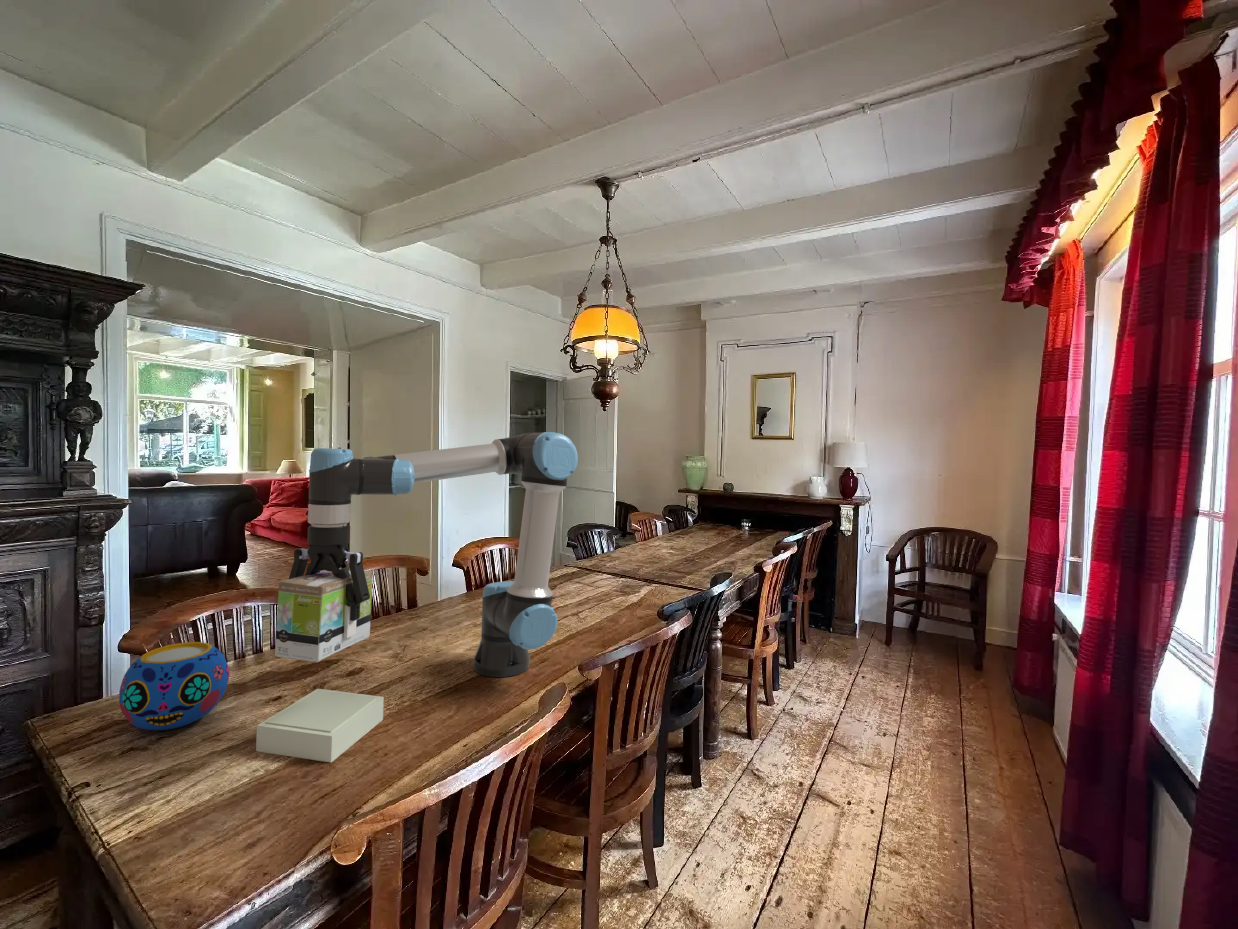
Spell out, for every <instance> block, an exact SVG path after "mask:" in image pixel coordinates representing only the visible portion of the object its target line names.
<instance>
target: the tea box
mask: <svg viewBox="0 0 1238 929" xmlns="http://www.w3.org/2000/svg"><path fill="white" fill-rule="evenodd" d="M340 569H342V568H340ZM349 573H350V568H349ZM364 573H365V577H366V581H367V586H368V590H369V594H370V599H369V600H366V601H364V602H362V603H361V604H360V617H359V619H357V620H356V634H354V635H353V636H351V637H349V638H344V615H345V605H347V604H349V603H348V601H347V599H346V584H349V583H353V581H352V577H348V578H345V579H341V578H336V576H334V575H333V573H332V572H331V571H326V570H322V571H320V573H317V574H313V575H305V574H304V575H303V576H299V577H296V578H292V579H289V578H288V579H285V580H281V581H279V583H278V593H277V594H278V595H277V611H276V612H277V614H276V631H275V645H274V646H275V650H274V656H275V657H278V658H283V659H290V660H296V661H302V662H311V663H319V662H320V661H322V660H324V659H326V658H328V657H330V656H332V655H334V654H336V653H338V652H340V651H342V650H345V649H347V648H348V647H350V646H353V645H355V644H357V643H359V642H362V641H363V640H366V639H368V638H369V637H370V634H371V617H372V598H373V596H372V595H373V592H372V590H373V581H374V579H373V576H374V575H373V574H374V572H373V570H367V569H366V570H365V569H364ZM350 575H351V573H350Z"/></svg>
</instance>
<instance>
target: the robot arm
mask: <svg viewBox="0 0 1238 929" xmlns="http://www.w3.org/2000/svg"><path fill="white" fill-rule="evenodd" d="M353 454H354V452H353V451H352V449H350V448H331V447H330V448H327V447H323V448H321V447H318V448H315V449H313V450H312V451H311V453H310V461H309V463H310V464H309V469H308V473H309V474H308V482H309V483H308V511H307V512H308V513H307V523H308V524H310V525H309V526H308V527H307V540H306V541H307V544H308V545H309V547H308V548H307V547H305V546H304V547H301V548H298V549H294V551H293V562H292V566H291V570H290V572H289V577H288V579H292V578H296V577H299V576H303V575H313V574H317V573H320V571H322V570H326V571H331V572H332V573H333V575H334V576H336V578H341V579H345V578H348V577H352V581H353V583H349V584H346V599H347V601H348V603H349V604H347V605H345V615H344V638H349V637H351V636H353V635H354V634H356V620H357V619H359V617H360V604H361V603H362V602H364V601H366V600H369V599H370V594H369V590H368V586H367V581H366V577H365V573H364V570H365V569H364V565H363V560H364V553H363V552H362V551H358V552H352V551H350V548H349V546H348V545H349V544H350V540H351V526H350V524H349V523H350V522H351V509H352V508H351V507H352V506H351V505H352V504H351V503H352V496H353V495H355V496H359V495H367V496H368V495H373V496H375V495H378V496H379V495H380V496H381V495H386V496H387V495H392V496H397V495H408V494H411V492H412V490H413V488H414V484H419V483H420V484H421V483H425V482H426V483H427V482H433V481H440V480H446V479H447V480H448V479H453V478H463V477H470V476H474V475H481V474H482V475H483V474H489V473H496V474H497V475H499V476H502V475H510V474H513V475H514V474H515V475H521V479H520V483H521V484H522V486H523V487H524V489H525V494H524V502H523V508H522V518H521V525H520V534H519V540H518V541H519V542H518V551H517V558H516V566H515V572H514V573H515V574H514V580H509V581H508V580H506V581H496V582H490V583H488V584H485V586H484V587H483V591H482V596H481V599H482V602H481V603H482V604H481V605H482V606H481V635H480V636H481V637H480V641H479V644H478V645H477V646H478V647H477V650H476V652H475V655H474V658H473V670H474V671H475V672H476V673H477V674H479V675H481V676H484V677H491V678H506V677H513V676H516V675H519V674H522V673H524V672H526V671H527V670H528V669H529V668H530V666H531V664H530V663H531V656H530V652H529V650H531V651H532V650H537V649H540V648H541V647H543V646H545V645H546V644H547V643H548V641H550V640H552V638H553V636H554V635H555V633H556V631H557V626H558V615H557V613H556V612H555V610H554V608H553V607H552V603H553V596H554V593H553V591H552V590H551V589H550V587H549V581H550V571H551V564H552V558H553V548H554V541H555V540H554V539H555V533H556V532H555V531H556V525H557V524H556V522H557V516H558V508H559V500H560V494H561V492H563V491H564V490H565V489H566V488H567V485H568V478H570V477H571V475H572V474H573V473H574V472H575V470H576V469H577V466H578V462H579V461H578V460H579V459H578V458H579V456H578V455H579V454H578V451H577V448H576V446H575V444H574V442H572V440H571V438H569V437H568V436H566V435H564V434H562V433H559V432H553V431H552V432H551V431H545V432H543V431H542V432H526V433H522V434H518V435H514V436H509V437H505V438H497V439H494V440H492V442H491V443H485V444H476V445H469V446H460V447H459V446H458V447H451V448H442V449H441V448H440V449H434V450H424V451H416V452H414V451H413V452H407V453H398V454H391V455H383V456H382V455H381V456H365V457H362V458H354V455H353ZM309 559H310V562H309ZM308 562H309V564H308ZM307 565H308V566H307ZM340 568H342V569H340ZM349 569H350V573H351V575H350V573H349Z"/></svg>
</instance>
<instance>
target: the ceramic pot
mask: <svg viewBox="0 0 1238 929" xmlns="http://www.w3.org/2000/svg"><path fill="white" fill-rule="evenodd" d="M229 678H230V670H229V666H228V661H227V660H226V658H225V656H224V654H223V653H222V651H221V650H220V649H218V647H216V646H214V645H213V644H210V643H208V642H202V641H189V642H188V641H187V642H179V643H173V644H168V645H165V646H164V645H163V646H161V647H157V648H154V649H151V650H149V651H147V652H146V653H144V654H142V655H140V656H139V657H138V658H137V659H136V660H135V661H134V662H133V663H132V664H131V665H130V666H129V667H128V669H127V670H126V672H125V673H124V675H123V678H122V681H121V683H120V687H119V695H118V703H119V707H120V711H121V713H122V715H123V717H124V718H125V719H126V720H127V721H128V722H129V723H130V724H131V725H133V726H134V727H136V728H139V729H142V730H149V731H166V730H172V729H177V728H181V727H184V726H187V725H189V724H191V723H193V722H196V721H198V720H200V719H202V718H203V717H204V716H206V715H208V714H209V713H210V712H212V710H213V709H214V708H215V707H217V705H218V704H219V703H220V701H221V700H222V698H223V697H224V694H225V692H226V690H227V688H228V687H227V686H228V683H229Z"/></svg>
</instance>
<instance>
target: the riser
mask: <svg viewBox="0 0 1238 929" xmlns="http://www.w3.org/2000/svg"><path fill="white" fill-rule="evenodd" d="M384 698H385V697H384V696H379V695H370V694H362V693H355V692H348V691H347V692H346V691H339V690H332V689H331V690H330V689H326V688H325V689H322V688H316V689H315V690H313V691H311V692H310V693H308V694H307V695H305V696H303V697H302V698H299V699H298V700H297V701H295V702H293V703H292V704H290V705H289V706H287V707H285V708H283V709H281V710H280V711H278V712H276V713H275V714H274V715H272V716H271V717H268V718H267V719H265V720H264V721H262V722H260V723H259V724H257V725H256V739H255V740H256V741H255V742H256V746H255V748H256V749H255V752H259V753H265V754H272V755H279V756H285V757H286V756H287V757H293V758H298V759H303V760H304V759H305V760H312V761H319V762H323V763H324V762H325V763H333V762H334V761H335V760H336V759H337V758H339V757H340V756H341V755H342V754H344V753H345V752H346V751H347V750H348V749H350V748H351V747H352V746H353V745H354V744H356V743H357V742H358V741H359V740H360V739H362V738H363V737H364V736H365V735H366V734H367V733H369V732H370V731H371V730H372V729H373V728H375V727H376V726H377V725H379V724H380V723H381V722H382V721H383V720H384Z"/></svg>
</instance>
